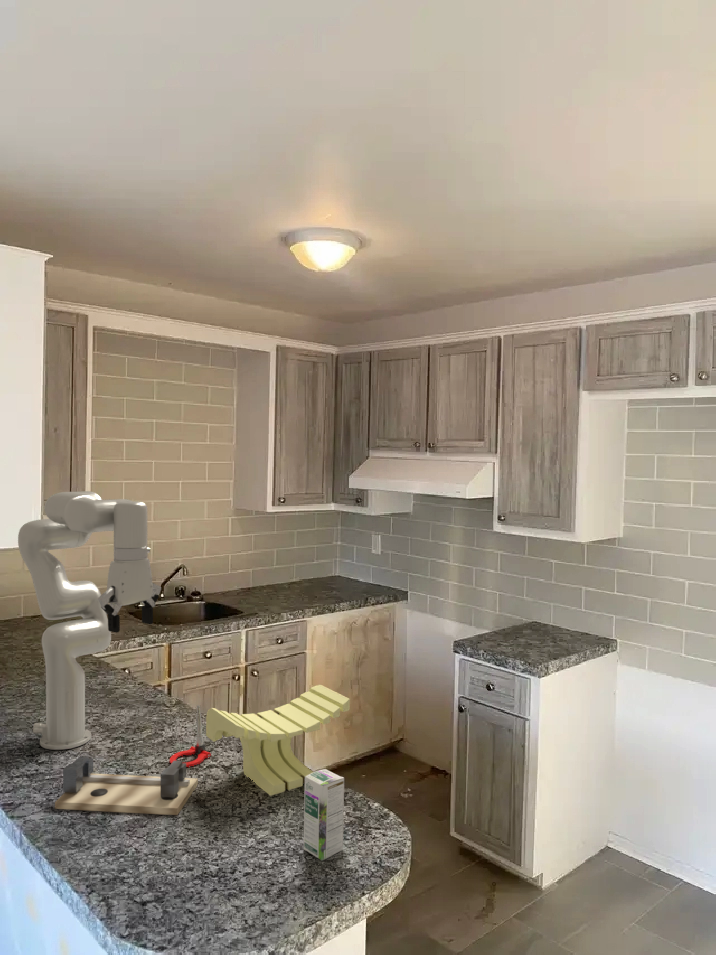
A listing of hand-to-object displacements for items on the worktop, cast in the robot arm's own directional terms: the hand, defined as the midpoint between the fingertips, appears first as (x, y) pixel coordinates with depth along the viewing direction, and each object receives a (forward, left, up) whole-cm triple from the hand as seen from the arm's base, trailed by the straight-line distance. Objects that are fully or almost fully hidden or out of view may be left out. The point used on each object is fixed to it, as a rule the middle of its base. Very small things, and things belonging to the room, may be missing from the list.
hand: (131, 627), depth 167 cm
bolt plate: (+3, -9, -36) cm, 37 cm away
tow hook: (+10, +11, -36) cm, 39 cm away
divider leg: (-9, -8, -34) cm, 36 cm away
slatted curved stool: (+34, +5, -36) cm, 50 cm away
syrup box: (+49, -26, -36) cm, 66 cm away
